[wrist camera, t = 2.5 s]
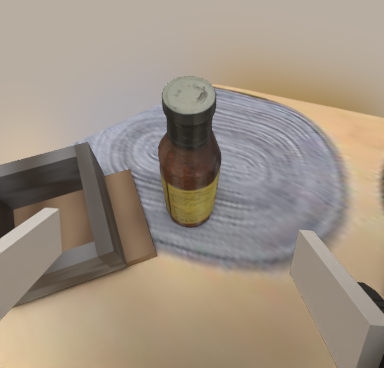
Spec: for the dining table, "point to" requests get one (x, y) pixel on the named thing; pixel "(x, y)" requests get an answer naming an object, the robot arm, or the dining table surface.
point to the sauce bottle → (189, 150)
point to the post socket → (76, 215)
